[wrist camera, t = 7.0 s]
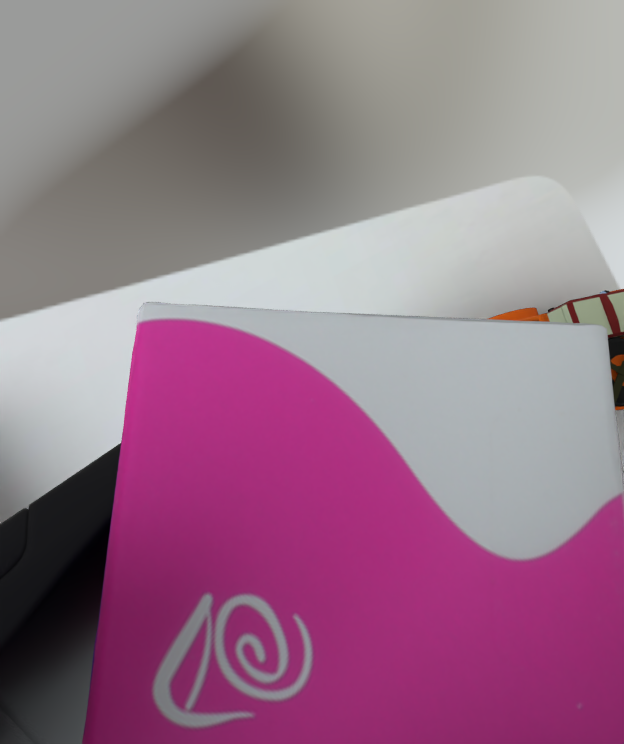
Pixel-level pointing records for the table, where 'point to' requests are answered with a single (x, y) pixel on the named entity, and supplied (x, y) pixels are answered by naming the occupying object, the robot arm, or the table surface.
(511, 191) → the table surface
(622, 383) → the toy car
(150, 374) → the supplement box
